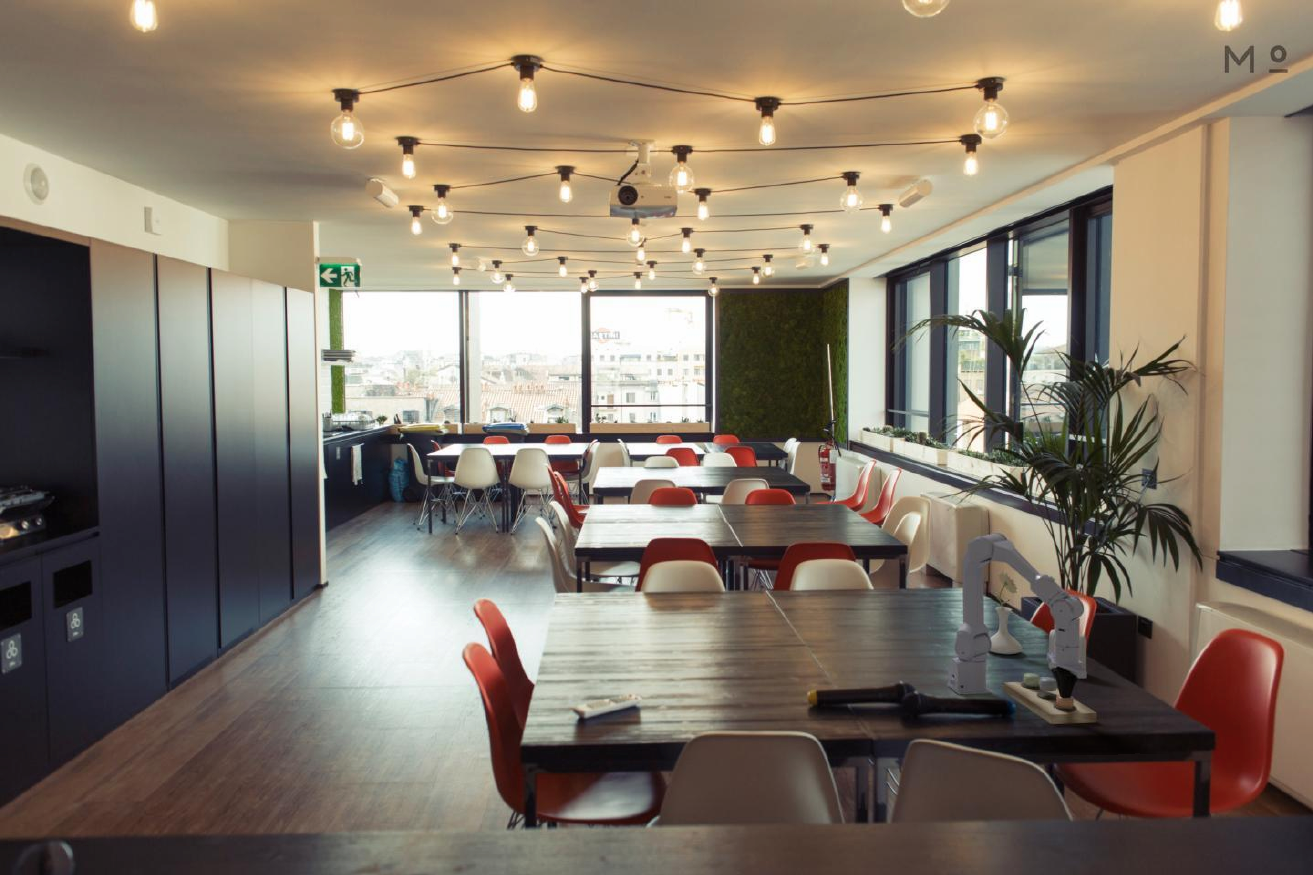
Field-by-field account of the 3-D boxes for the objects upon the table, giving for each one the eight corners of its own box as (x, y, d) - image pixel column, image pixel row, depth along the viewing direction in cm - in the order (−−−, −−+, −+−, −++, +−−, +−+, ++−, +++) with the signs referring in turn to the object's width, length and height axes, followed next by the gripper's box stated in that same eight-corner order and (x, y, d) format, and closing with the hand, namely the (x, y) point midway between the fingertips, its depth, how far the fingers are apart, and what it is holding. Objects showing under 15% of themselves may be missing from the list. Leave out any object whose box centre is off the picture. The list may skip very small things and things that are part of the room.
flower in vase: (1025, 658, 273) (1027, 578, 272) (986, 656, 275) (988, 576, 274) (1017, 646, 286) (1019, 569, 284) (980, 644, 288) (981, 568, 287)
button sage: (1028, 686, 238) (1028, 678, 238) (1020, 681, 242) (1021, 673, 242) (1042, 686, 239) (1042, 677, 238) (1034, 681, 243) (1034, 672, 242)
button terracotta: (1061, 709, 222) (1062, 700, 222) (1053, 703, 226) (1053, 694, 226) (1076, 708, 223) (1077, 699, 223) (1067, 703, 227) (1068, 693, 227)
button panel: (1050, 723, 220) (1051, 712, 220) (1003, 690, 244) (1003, 680, 244) (1096, 722, 221) (1096, 711, 221) (1044, 689, 245) (1044, 679, 245)
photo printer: (1046, 669, 263) (1047, 628, 262) (1051, 665, 266) (1052, 625, 265) (1082, 677, 256) (1084, 634, 255) (1087, 673, 259) (1088, 631, 258)
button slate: (1044, 691, 230) (1045, 682, 230) (1036, 686, 234) (1036, 677, 234) (1059, 690, 231) (1059, 681, 230) (1050, 685, 235) (1051, 676, 234)
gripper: (1098, 652, 217) (1097, 706, 218) (1065, 636, 231) (1064, 687, 232) (1071, 653, 216) (1070, 708, 217) (1039, 636, 230) (1038, 688, 231)
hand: (1065, 697), depth 224 cm, fingers closed, pressing on button terracotta
